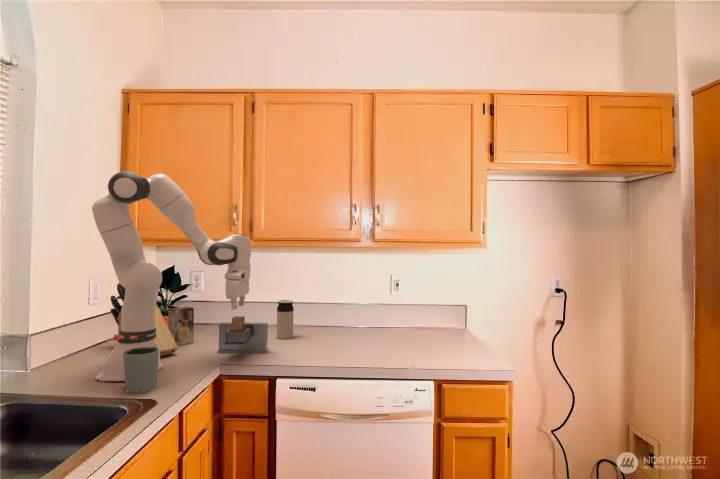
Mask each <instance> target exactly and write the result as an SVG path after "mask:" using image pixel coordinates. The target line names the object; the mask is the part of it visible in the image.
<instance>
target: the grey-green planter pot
mask: <svg viewBox="0 0 720 479" xmlns="http://www.w3.org/2000/svg"><path fill="white" fill-rule="evenodd" d="M158 355H159V348H157V347H139V348H133V349H129V350H126V351H124V352H123V359H124V372H125V381H124V383H125V392H126V391H128V392H127V393H129V392H142V393H144V392H143V391H147V392H149V391H148V390H150V391H152V390H154V389H155V388H156V387H157V379H158V378H157V377H158V370H157V367H158ZM153 388H154V389H153ZM151 389H152V390H151Z"/></svg>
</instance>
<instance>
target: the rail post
mask: <svg viewBox="0 0 720 479" xmlns="http://www.w3.org/2000/svg"><path fill="white" fill-rule="evenodd" d="M231 322H232V331H244V323H246V322H245V316H240V315H239V316H236V315H235V316H233V317H232V318H231Z"/></svg>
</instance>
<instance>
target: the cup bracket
mask: <svg viewBox="0 0 720 479" xmlns="http://www.w3.org/2000/svg"><path fill="white" fill-rule="evenodd" d="M268 334H269V323H268V322H244V331H232V321H231V322H227V321H222V322H219V324H218V350H217V351H216V353H217V354H256V355H257V354H259V355H261V354H263V355H264V354H266V353H267V352H268V351H269V347H268V341H269V339H268V338H269V336H268Z"/></svg>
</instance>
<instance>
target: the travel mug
mask: <svg viewBox="0 0 720 479" xmlns="http://www.w3.org/2000/svg"><path fill="white" fill-rule="evenodd" d="M293 302H294V301H293V300H292V299H279V300H277V303H278V305H277V306H276V338H277V339H280V340H287V339H288V340H290V339H292V338H293V337H294V306H293Z"/></svg>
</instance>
